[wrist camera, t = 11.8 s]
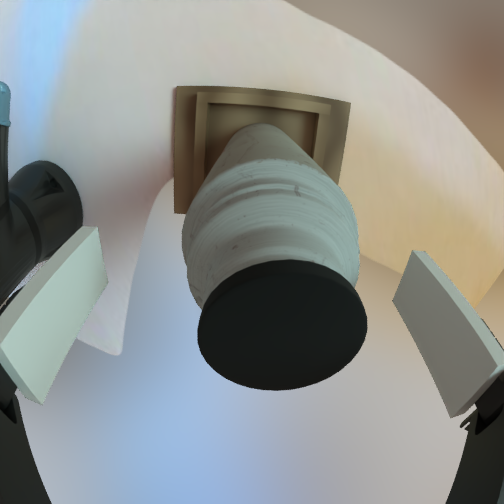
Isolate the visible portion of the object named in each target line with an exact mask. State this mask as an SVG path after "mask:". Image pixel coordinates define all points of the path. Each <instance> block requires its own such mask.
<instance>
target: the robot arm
mask: <svg viewBox="0 0 504 504" xmlns="http://www.w3.org/2000/svg"><path fill="white" fill-rule="evenodd" d="M10 98H11V93H10V89H9V87H8V86H7V85H6V84H5V83H4V82H1V81H0V306H1V304H3V302H4V301H5V300H6V299H7V297H8V296H9V295H10V294H11V293H12V291H13V290H14V289H15V288H16V287H17V286H18V284H19V283H20V282H21V281H22V280H23V279H24V278H25V276H26V275H27V274H28V273H29V272H30V271H31V270H32V269H33V268H34V267H35V266H36V265H37V264H38V263H40V262H43V261H45V260H48V259H49V260H48V261H47V262H46V263H45V264H44V265H43V266H42V267H41V268H40V269H39V270H38V272H37V273H36V274H35V275H34V276H33V277H32V278H31V279H30V281H29V282H28V283H27V284H26V285H24V286H23V287H21V288H20V289H19V290H17V291H16V292H14V293H13V294H12V296H11V297H10V298H9V299H8V300H7V302H6V305H3V307H2V308H1V309H0V504H52V503H51V501H50V499H49V497H48V494H47V492H46V490H45V487H44V485H43V482H42V480H41V477H40V475H39V472H38V470H37V467H36V464H35V461H34V458H33V455H32V452H31V449H30V446H29V442H28V439H27V435H26V431H25V428H24V424H23V420H22V415H21V411H20V406H19V402H18V399H17V397H16V395H15V394H14V393H15V391H16V389H17V388H18V389H19V390H20V391H21V393H22V394H23V395H24V396H25V398H27V399H30V400H31V401H34V402H36V403H39V404H41V405H43V403H44V400H45V398H46V396H47V394H48V392H49V389H50V387H51V385H52V383H53V381H54V379H55V377H56V375H57V373H58V371H59V369H60V367H61V364H62V362H63V361H64V359H65V357H66V355H67V353H68V351H69V349H70V347H71V345H72V344H73V342H74V340H75V338H76V336H77V334H78V333H79V331H80V329H81V327H82V326H83V324H84V322H85V320H86V319H87V317H88V315H89V313H90V312H91V310H92V308H93V307H94V305H95V303H96V302H97V300H98V298H99V297H100V295H101V294H102V292H103V290H104V289H105V287H106V286H107V284H108V279H107V275H106V270H105V265H104V260H103V255H102V250H101V244H100V239H99V233H98V227H91V226H82V222H83V211H82V205H81V200H80V197H79V194H78V191H77V189H76V187H75V185H74V183H73V182H72V180H71V179H70V177H69V176H68V175H67V173H66V172H65V171H64V170H63V169H61V168H60V167H59V166H57V165H56V164H54V163H52V162H49V161H35V162H33V163H31V164H28V165H26V166H24V167H23V168H21V169H20V170H19V171H18V172H17V173H16V174H15V175H14V176H13V177H12V178H11V180H10V181H9V182H8V132H9V127H10V125H11V122H10V121H9V113H10ZM392 301H393V303H394V304H395V306H396V308H397V310H398V312H399V313H400V315H401V317H402V319H403V321H404V322H405V324H406V326H407V328H408V330H409V331H410V333H411V335H412V337H413V339H414V341H415V343H416V345H417V347H418V349H419V351H420V353H421V355H422V357H423V359H424V361H425V363H426V365H427V367H428V369H429V371H430V373H431V375H432V377H433V379H434V382H435V384H436V386H437V388H438V390H439V393H440V395H441V397H442V399H443V402H444V404H445V406H446V409H447V411H448V413H449V416H450V418H453V417H455V416H458V415H461V414H464V413H465V412H466V411H467V410H468V409H469V408H470V407H471V406H472V405H473V404H474V403H475V405H476V407H477V409H476V410H475V411H474V412H473V413H472V414H470V415H469V417H467V418H466V419H465V420H464V421H463V422H462V423H461V425H460V428H462V427H463V426H464V425H466V424H467V423H468V422H470V424H469V425H468V426H467V427H466V428H465V430H467V431H468V435H467V439H466V443H465V447H464V451H463V455H462V458H461V461H460V465H459V468H458V471H457V474H456V477H455V480H454V483H453V486H452V489H451V491H450V494H449V496H448V499H447V501H446V504H504V349H503V348H502V346H501V345H500V343H499V342H498V340H497V339H496V338H494V337H495V336H494V335H493V333H492V332H491V331H490V330H489V328H488V326H487V325H486V323H485V322H484V321H483V319H481V318H480V317H479V315H478V314H477V313H476V311H475V310H474V309H473V307H472V306H471V305H470V303H469V302H468V301H467V300H466V298H465V297H464V296H463V295H462V293H461V292H460V291H459V290H458V288H457V287H456V286H455V285H454V284H453V282H452V281H451V280H450V279H449V278H448V277H447V275H446V274H445V273H444V272H443V271H442V270H441V268H440V267H439V266H438V265H437V264H436V263H435V262H434V261H433V259H432V258H431V257H430V256H429V255H428V254H427V253H426V252H425V251H415V250H412V252H411V255H410V258H409V261H408V263H407V266H406V269H405V271H404V274H403V276H402V279H401V281H400V284H399V286H398V289H397V291H396V293H395V296H394V298H393V300H392Z"/></svg>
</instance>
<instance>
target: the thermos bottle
mask: <svg viewBox="0 0 504 504" xmlns="http://www.w3.org/2000/svg"><path fill="white" fill-rule="evenodd" d="M182 251H183V255H184V260H185V263H186V265H187V278H188V282H189V287H190V291H191V293H192V295H193V297H194V299H195V301H196V303H197V304H198V306H199V307H200V308H201V309H202V313H201V316H200V320H199V325H198V345H199V348H200V351H201V354H202V355H203V357H204V359H205V360H206V362H207V363H208V364H209V365H210V366H211V367H212V368H213V369H214V370H215V371H216V372H217V373H219V374H220V375H222V376H223V377H224V378H226V379H228V380H230V381H232V382H234V383H237V384H239V385H242V386H246V387H249V388H254V389H261V390H274V391H278V390H291V389H297V388H302V387H306V386H309V385H312V384H315V383H318V382H320V381H322V380H325V379H327V378H329V377H331V376H332V375H334V374H335V373H337V372H339V371H340V370H341V369H343V368H344V367H345V366H346V365H347V364H348V363H350V362H351V361H352V359H353V358H354V357H355V356H356V354H357V353H358V352H359V350H360V348H361V346H362V344H363V343H364V340H365V337H366V333H367V316H366V313H365V309H364V306H363V304H362V301H361V299H360V297H359V295H358V293H357V292H356V290H355V289H354V288H355V285H356V282H357V280H358V273H359V266H360V264H359V253H360V250H359V244H358V227H357V220H356V217H355V214H354V211H353V208H352V205H351V204H350V202H349V200H348V199H347V197H346V196H345V194H344V192H343V191H342V189H341V188H340V187H339V186H338V185H337V184H336V183H335V182H334V181H333V180H332V179H331V178H330V177H329V176H328V175H327V174H326V173H325V172H324V171H323V170H322V169H321V167H320V166H319V165H318V164H317V163H316V162H315V161H314V160H313V159H312V158H310V157H309V156H308V155H307V154H306V153H305V152H304V151H303V150H302V149H301V148H300V147H299V146H298V145H297V144H296V143H295V142H294V141H293V140H292V139H291V138H290V137H289V136H287V135H286V134H285V133H284V132H283V131H282V130H281V129H279V128H277V127H275V126H273V125H270V124H265V123H254V124H250V125H247V126H245V127H243V128H241V129H240V130H238V131H237V132H236V133H235V134H234V135H233V136H232V138H231V139H230V141H229V142H228V144H227V145H226V147H225V148H224V150H223V152H222V154H221V156H220V157H219V158H218V159H217V161H216V163H215V164H214V166H213V167H212V169H211V171H210V172H209V174H208V176H207V177H206V179H205V181H204V182H203V184H202V186H201V187H200V189H199V191H198V192H197V194H196V196H195V197H194V199H193V201H192V203H191V205H190V207H189V209H188V211H187V213H186V217H185V220H184V225H183V229H182Z"/></svg>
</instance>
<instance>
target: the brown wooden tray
mask: <svg viewBox="0 0 504 504" xmlns="http://www.w3.org/2000/svg"><path fill="white" fill-rule="evenodd" d="M350 105H351V103H349V102H344V101H339V100H334V99H329V98H324V97H318V96H312V95H306V94H299V93H292V92H285V91H276V90H267V89H256V88H243V87H224V86H177V93H176V111H175V136H174V213H177V214H186V213H187V211H188V209H189V207H190V205H191V203H192V201H193V199H194V197H195V196H196V194H197V192H198V191H199V189H200V187H201V186H202V184H203V182H204V181H205V179H206V177H207V176H208V174H209V172H210V171H211V169H212V167H213V166H214V164H215V163H216V161H217V159H218V158H219V157H220V156H221V154H222V152H223V150H224V148H225V147H226V145H227V144H228V142H229V141H230V139H231V138H232V136H233V135H234V134H235V133H236V132H237V131H238V130H240V129H241V128H243V127H245V126H247V125H250V124H254V123H265V124H270V125H273V126H275V127H277V128H279V129H281V130H282V131H283V132H284V133H285V134H286V135H287V136H289V137H290V138H291V139H292V140H293V141H294V142H295V143H296V144H297V145H298V146H299V147H300V148H301V149H302V150H303V151H304V152H305V153H306V154H307V155H308V156H309V157H310V158H312V159H313V160H314V161H315V162H316V163H317V164H318V165H319V166H320V167H321V169H322V170H323V171H324V172H325V173H326V174H327V175H328V176H329V177H330V178H331V179H332V180H333V181H334V182H335V183H336V184H337V185H338V182H339V176H340V171H341V165H342V159H343V153H344V147H345V141H346V134H347V127H348V120H349V113H350Z"/></svg>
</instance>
